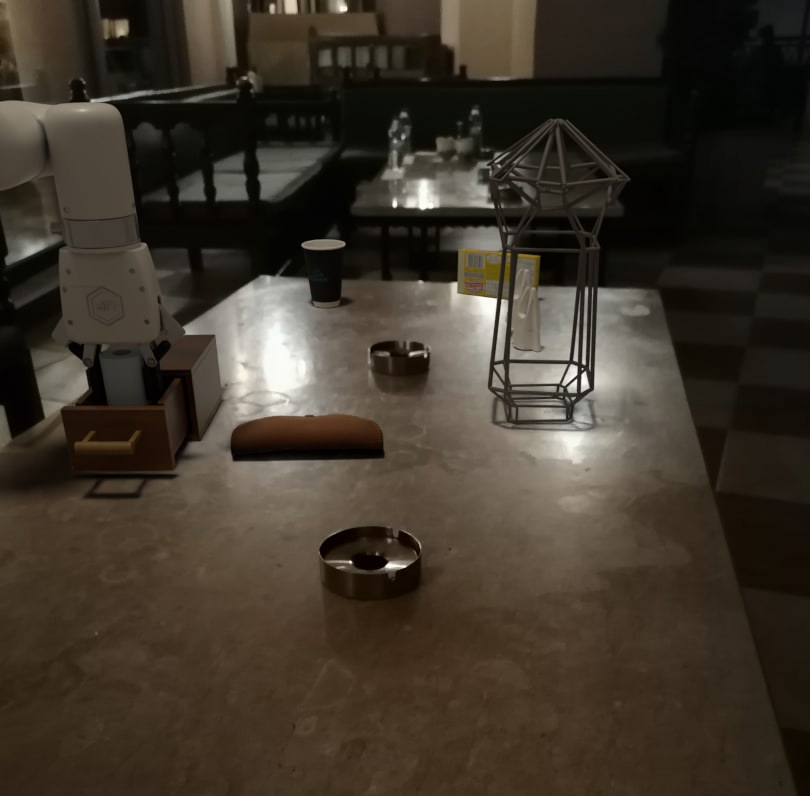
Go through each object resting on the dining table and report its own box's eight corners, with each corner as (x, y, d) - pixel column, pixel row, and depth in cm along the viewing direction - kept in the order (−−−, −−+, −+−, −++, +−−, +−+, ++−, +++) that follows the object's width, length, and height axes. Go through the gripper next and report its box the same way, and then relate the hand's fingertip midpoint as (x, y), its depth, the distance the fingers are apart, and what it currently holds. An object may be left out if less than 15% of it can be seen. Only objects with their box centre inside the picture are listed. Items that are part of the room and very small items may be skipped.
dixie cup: (343, 298, 173) (341, 238, 167) (351, 308, 166) (349, 246, 161) (302, 300, 171) (298, 240, 166) (308, 311, 164) (304, 249, 159)
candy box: (538, 300, 169) (541, 255, 165) (534, 303, 168) (536, 257, 164) (461, 290, 177) (462, 247, 173) (456, 293, 175) (457, 249, 171)
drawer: (162, 489, 97) (152, 426, 94) (57, 489, 98) (43, 426, 94) (199, 425, 113) (191, 369, 110) (108, 426, 114) (98, 370, 110)
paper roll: (102, 411, 102) (92, 359, 99) (115, 396, 107) (106, 345, 104) (146, 411, 102) (137, 358, 99) (157, 395, 107) (149, 345, 104)
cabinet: (200, 440, 111) (191, 369, 107) (98, 441, 112) (85, 370, 107) (222, 399, 124) (215, 334, 120) (131, 400, 124) (120, 335, 120)
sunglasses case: (383, 426, 114) (382, 391, 108) (384, 472, 110) (384, 439, 104) (239, 429, 113) (230, 395, 107) (236, 476, 110) (227, 443, 104)
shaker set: (504, 331, 152) (506, 263, 147) (528, 330, 152) (532, 263, 147) (515, 352, 142) (518, 280, 136) (542, 351, 142) (546, 280, 136)
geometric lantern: (479, 390, 126) (488, 114, 109) (593, 392, 125) (620, 113, 108) (478, 433, 113) (487, 124, 96) (606, 436, 111) (638, 124, 94)
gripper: (7, 240, 92) (44, 409, 101) (174, 239, 92) (196, 408, 101) (35, 227, 99) (67, 386, 108) (190, 225, 98) (209, 386, 107)
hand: (129, 395), depth 104 cm, fingers closed on paper roll, 5 cm apart
